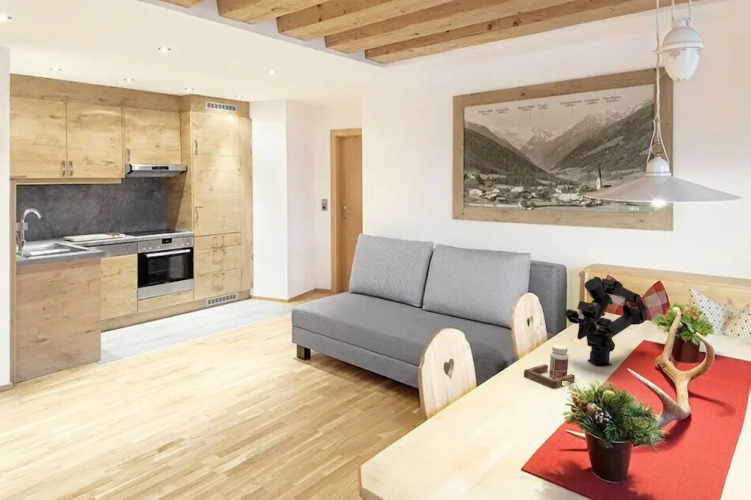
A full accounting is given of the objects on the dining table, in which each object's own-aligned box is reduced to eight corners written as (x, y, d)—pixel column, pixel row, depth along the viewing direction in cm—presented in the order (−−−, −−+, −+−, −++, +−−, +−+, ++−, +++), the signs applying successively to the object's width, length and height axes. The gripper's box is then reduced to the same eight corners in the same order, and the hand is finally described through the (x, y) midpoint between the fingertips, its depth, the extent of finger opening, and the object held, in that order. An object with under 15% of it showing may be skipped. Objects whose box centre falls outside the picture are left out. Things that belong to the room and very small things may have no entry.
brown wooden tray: (544, 370, 196) (544, 364, 196) (574, 382, 186) (574, 375, 186) (523, 376, 190) (524, 370, 190) (553, 388, 179) (554, 382, 179)
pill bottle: (570, 377, 190) (572, 347, 188) (559, 380, 187) (561, 350, 185) (556, 372, 195) (558, 343, 194) (545, 375, 192) (547, 345, 190)
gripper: (569, 288, 203) (549, 320, 199) (613, 298, 188) (593, 332, 184) (579, 305, 209) (560, 336, 204) (624, 316, 194) (604, 350, 189)
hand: (578, 338), depth 195 cm, fingers closed
